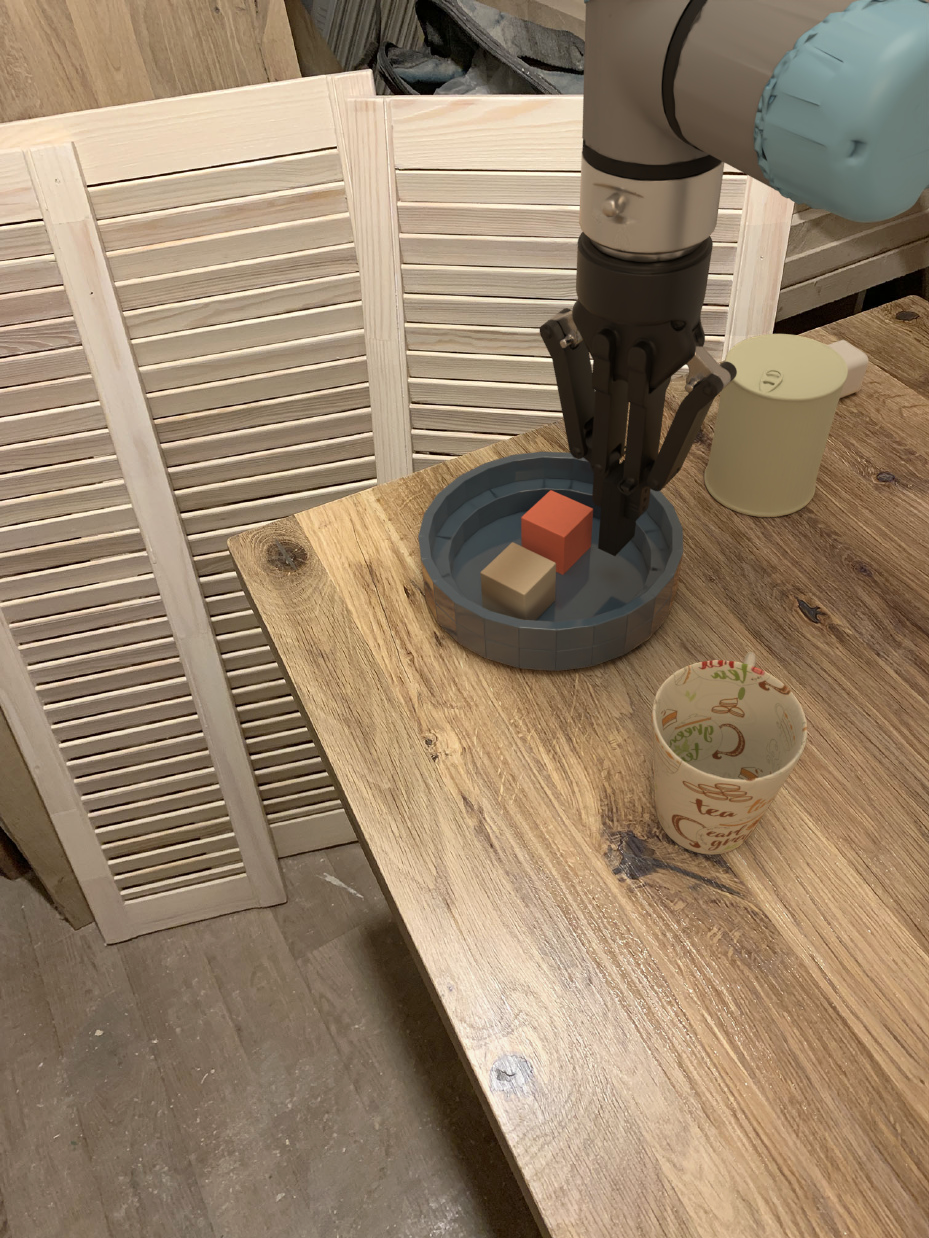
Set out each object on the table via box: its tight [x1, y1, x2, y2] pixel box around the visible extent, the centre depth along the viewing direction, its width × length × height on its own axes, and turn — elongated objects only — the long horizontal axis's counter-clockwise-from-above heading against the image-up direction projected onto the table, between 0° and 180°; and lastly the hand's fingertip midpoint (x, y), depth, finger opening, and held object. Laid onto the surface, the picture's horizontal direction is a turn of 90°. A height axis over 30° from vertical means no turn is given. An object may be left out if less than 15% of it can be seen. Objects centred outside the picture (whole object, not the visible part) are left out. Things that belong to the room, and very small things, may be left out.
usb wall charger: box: [826, 339, 869, 399], centre depth 86 cm, size 4×7×4 cm, turn 116°
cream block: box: [480, 542, 556, 620], centre depth 69 cm, size 4×4×4 cm
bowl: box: [417, 450, 684, 672], centre depth 71 cm, size 20×20×5 cm
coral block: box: [521, 490, 593, 575], centre depth 73 cm, size 4×4×4 cm
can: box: [703, 333, 848, 518], centre depth 75 cm, size 9×9×12 cm
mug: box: [650, 651, 808, 855], centre depth 56 cm, size 8×13×10 cm, turn 158°
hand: (616, 542), depth 69 cm, fingers closed
